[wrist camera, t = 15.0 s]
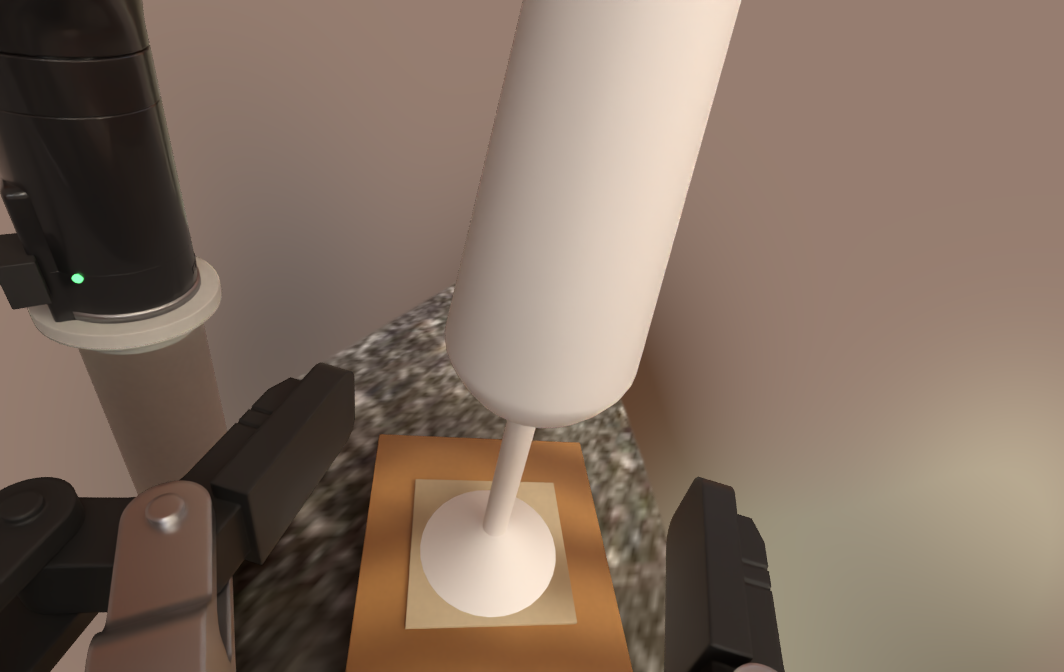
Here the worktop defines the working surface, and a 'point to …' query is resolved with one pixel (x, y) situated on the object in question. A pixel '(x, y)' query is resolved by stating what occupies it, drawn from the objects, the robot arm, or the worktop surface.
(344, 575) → the worktop surface
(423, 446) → the wooden coaster block
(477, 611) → the champagne flute
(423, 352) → the worktop surface
